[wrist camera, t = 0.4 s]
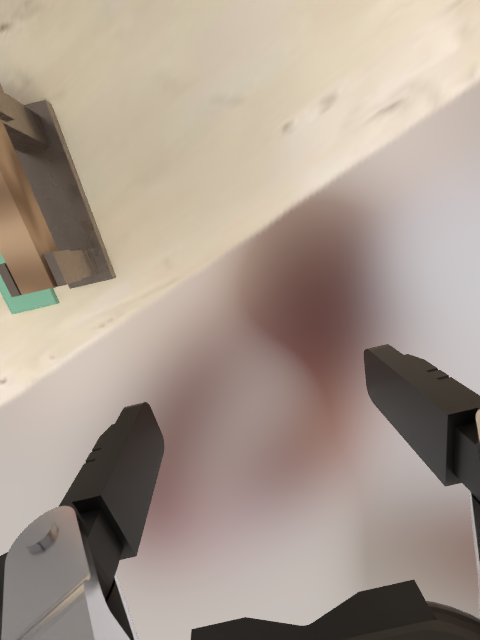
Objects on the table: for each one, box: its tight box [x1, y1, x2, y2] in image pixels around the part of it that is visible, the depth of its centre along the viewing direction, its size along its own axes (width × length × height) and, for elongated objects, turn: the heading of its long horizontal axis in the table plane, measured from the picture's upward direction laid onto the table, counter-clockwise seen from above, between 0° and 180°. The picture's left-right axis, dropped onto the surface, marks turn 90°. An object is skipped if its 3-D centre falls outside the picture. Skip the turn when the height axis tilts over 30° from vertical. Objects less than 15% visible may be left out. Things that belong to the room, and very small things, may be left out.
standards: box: [0, 84, 116, 297], centre depth 27 cm, size 19×6×10 cm, turn 13°
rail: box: [0, 119, 58, 295], centre depth 23 cm, size 17×3×3 cm, turn 13°
